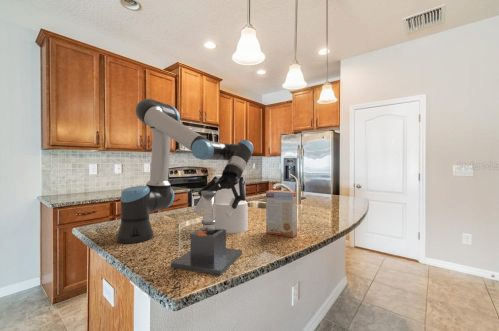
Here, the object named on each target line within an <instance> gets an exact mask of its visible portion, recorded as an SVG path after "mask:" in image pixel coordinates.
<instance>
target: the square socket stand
mask: <svg viewBox="0 0 499 331" xmlns="http://www.w3.org/2000/svg"><path fill="white" fill-rule="evenodd" d="M189 235H190V241H189V242H190V245H189V246H190V250H189V251H187V252H186V253H184V254H183V255H181V256H180V257H178V258H176V259H175V260H173V261H171V262H170V268H174V269H179V270H186V271H192V272H196V273H197V272H198V273H203V274H209V275H213V276H222V275H223V274H224V273H225V272H227V271H226V270H228V269H229V268H230V266H232V265H233V264H234V263H235V262H236V261H237V260H238V259H239V258H240V257H241V256H242V255H243V249H235V248H228V247H227V245H226V244H227V233H226V230H225V229H215V234H213V235H208V234H207V231H203V227H202V228H200V229H198V230H196V231H194V232H192V233H190V234H189Z"/></svg>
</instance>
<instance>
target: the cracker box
mask: <svg viewBox="0 0 499 331" xmlns="http://www.w3.org/2000/svg"><path fill="white" fill-rule="evenodd" d="M265 193H266V195H265V200H266V202H265V203H266V204H265V207H266V208H265V210H266V211H265V213H266V214H265V215H266V216H265V217H266V218H265V223H266V224H265V226H266V228H265V230H266V232H265V233H266V234H269V235H276V236H282V237H287V238H294V237H295V236H297V235H298V195H297V194H298V191H294V190H293V191H291V190H278V189H276V190H275V189H274V190H272V189H271V190H266V191H265Z"/></svg>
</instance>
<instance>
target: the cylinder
mask: <svg viewBox="0 0 499 331" xmlns="http://www.w3.org/2000/svg"><path fill="white" fill-rule="evenodd" d="M215 176H216V177H217V178H220V177H221V176H222V174H219V175H218V174H216V175H214V177H215ZM241 177H243V179H244V180H245V184H244V190H245V201H242V200H241V201H240V202H239V203H238V205H237V207H236V209H234V210H233V212H232V215H231V217H230V218H228V217H227V215H226V214H225V212H226V210H227V208H228V206H229V204H230V201H231V199H232V198H235V197H234V194H233V191H232V189H231V188H230V189H221V190H218V191H216V195H214V219H215V220H216V223H215V229H225V230H226V234H229V235H230V234H239V233H244V232H246V231H247V230H248V226H249V225H248V221H249V220H248V212H249V211H248V209H249V208H248V207H249V206H248V201H246V200H247V199H246V198H247V197H246V194H247V193H246V189H247V188H246V181H247V180H246V174H242V176H241ZM218 185H219V187H220V184H218ZM235 188H236V191H237V193H238V195H239V196H240V192H239V183H237V184H236V185H235Z"/></svg>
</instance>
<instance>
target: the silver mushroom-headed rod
mask: <svg viewBox="0 0 499 331" xmlns="http://www.w3.org/2000/svg"><path fill="white" fill-rule="evenodd" d="M201 195H203V208H202V220H201V225H202V228H203V231H207V234H208V235H213V234H215V223H216V220H215V195H216V191H201Z"/></svg>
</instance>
